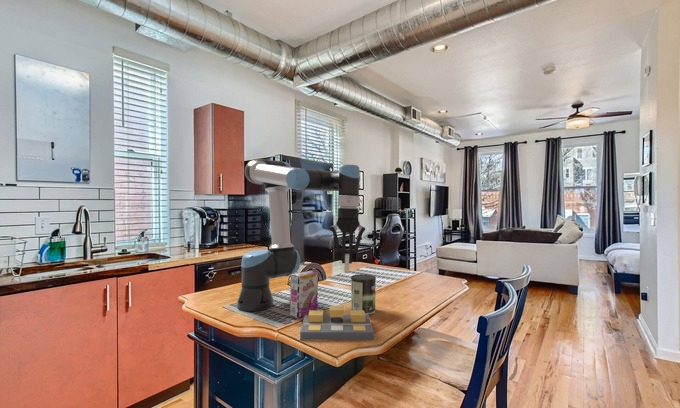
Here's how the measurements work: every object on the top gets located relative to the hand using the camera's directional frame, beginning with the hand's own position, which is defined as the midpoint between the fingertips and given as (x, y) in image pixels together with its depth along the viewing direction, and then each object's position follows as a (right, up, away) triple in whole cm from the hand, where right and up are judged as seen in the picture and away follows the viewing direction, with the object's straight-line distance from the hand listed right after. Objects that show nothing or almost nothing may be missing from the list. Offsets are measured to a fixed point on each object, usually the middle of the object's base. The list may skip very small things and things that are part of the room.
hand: (346, 272), depth 116 cm
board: (-3, -19, -4) cm, 20 cm away
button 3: (+4, -19, -2) cm, 20 cm away
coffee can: (+7, -20, +16) cm, 26 cm away
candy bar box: (-17, -20, +12) cm, 28 cm away
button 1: (-11, -19, -2) cm, 22 cm away
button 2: (-4, -17, -2) cm, 18 cm away
